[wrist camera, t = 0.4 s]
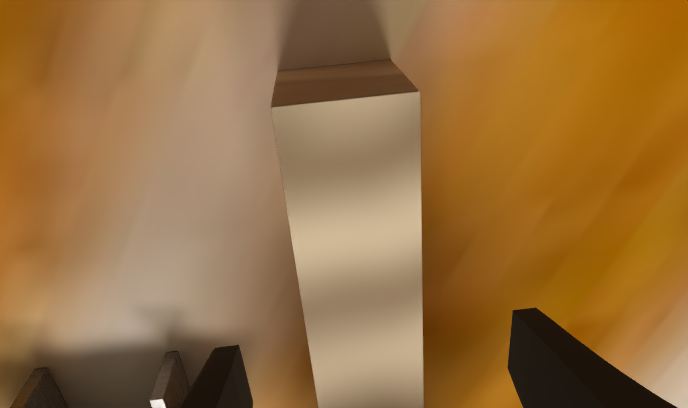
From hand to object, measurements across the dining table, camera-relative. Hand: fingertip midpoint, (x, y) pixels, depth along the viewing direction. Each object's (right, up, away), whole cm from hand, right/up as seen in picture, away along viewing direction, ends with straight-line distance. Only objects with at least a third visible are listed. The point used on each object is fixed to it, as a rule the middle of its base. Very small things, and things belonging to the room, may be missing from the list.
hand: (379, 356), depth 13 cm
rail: (-1, +2, +10) cm, 10 cm away
